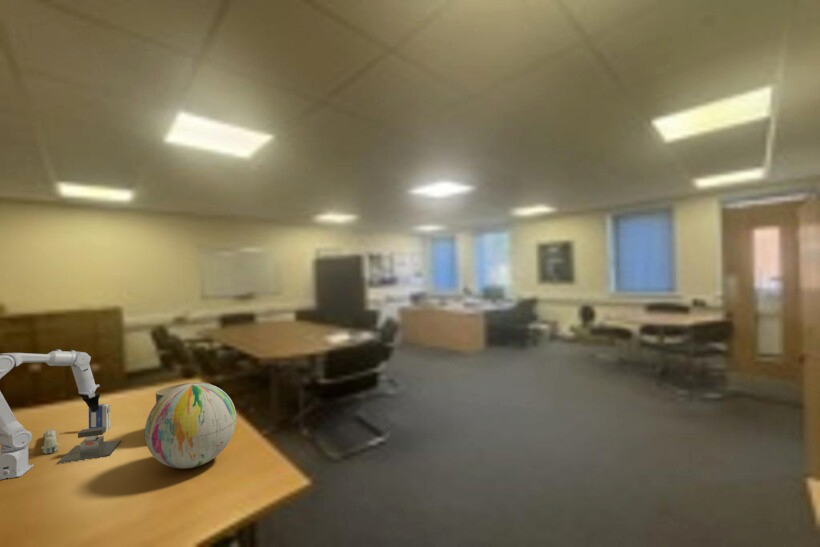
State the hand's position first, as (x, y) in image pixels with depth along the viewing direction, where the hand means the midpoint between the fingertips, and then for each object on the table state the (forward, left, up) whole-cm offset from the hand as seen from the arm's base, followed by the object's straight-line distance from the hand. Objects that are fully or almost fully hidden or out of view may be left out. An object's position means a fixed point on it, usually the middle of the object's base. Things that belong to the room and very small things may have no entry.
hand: (93, 408), depth 168 cm
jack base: (-8, -2, -16) cm, 18 cm away
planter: (0, -34, -16) cm, 37 cm away
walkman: (+21, +4, -16) cm, 27 cm away
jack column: (-8, -2, -14) cm, 17 cm away
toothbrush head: (+9, +18, -16) cm, 25 cm away
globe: (-38, -42, -16) cm, 59 cm away
